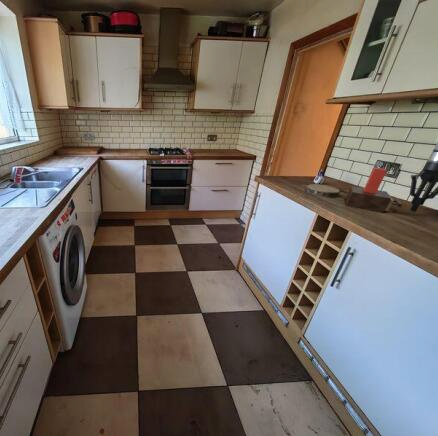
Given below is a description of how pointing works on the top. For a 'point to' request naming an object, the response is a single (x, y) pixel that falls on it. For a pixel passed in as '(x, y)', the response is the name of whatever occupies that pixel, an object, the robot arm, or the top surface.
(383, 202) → the dark wooden block
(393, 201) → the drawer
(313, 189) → the round wood slice
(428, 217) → the top surface
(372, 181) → the tea box
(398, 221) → the top surface
